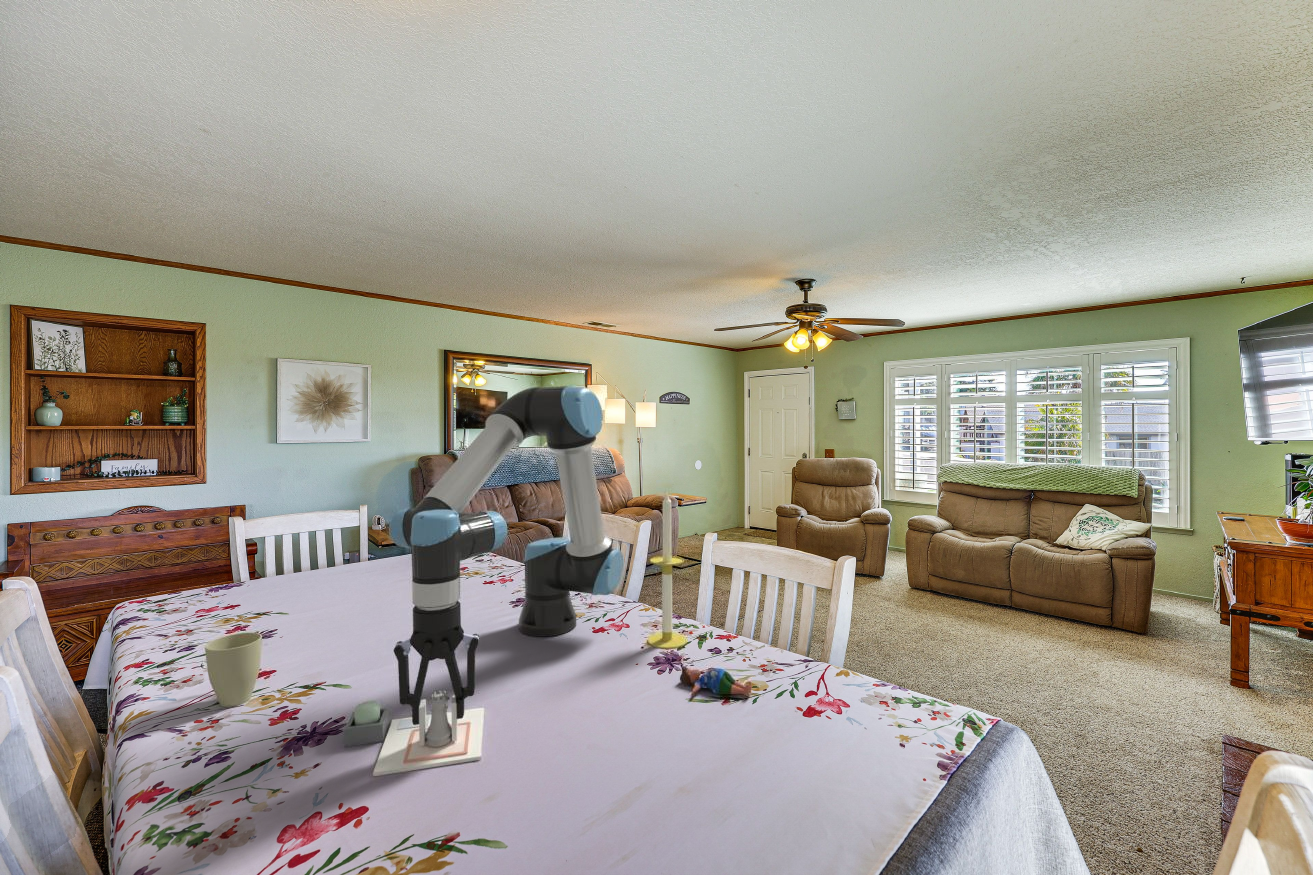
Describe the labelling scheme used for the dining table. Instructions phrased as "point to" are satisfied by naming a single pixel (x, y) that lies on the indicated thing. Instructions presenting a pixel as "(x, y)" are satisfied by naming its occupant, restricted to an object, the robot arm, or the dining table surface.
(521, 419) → the robot arm
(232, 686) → the mug
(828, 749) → the dining table surface
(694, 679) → the toy character
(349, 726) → the button housing
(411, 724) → the cream square board
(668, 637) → the paper towel holder
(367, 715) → the button
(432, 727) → the rook chess piece
